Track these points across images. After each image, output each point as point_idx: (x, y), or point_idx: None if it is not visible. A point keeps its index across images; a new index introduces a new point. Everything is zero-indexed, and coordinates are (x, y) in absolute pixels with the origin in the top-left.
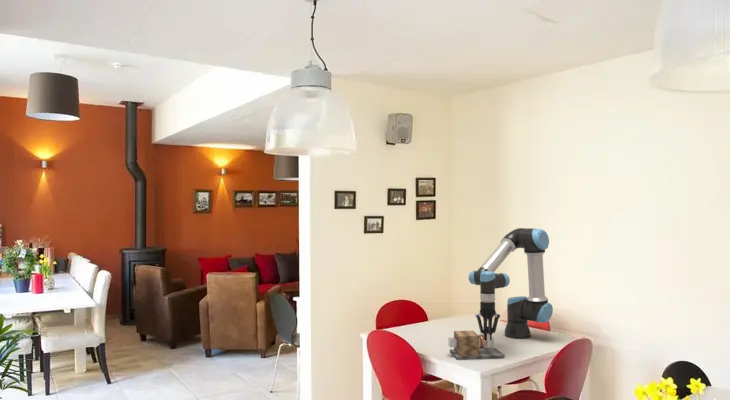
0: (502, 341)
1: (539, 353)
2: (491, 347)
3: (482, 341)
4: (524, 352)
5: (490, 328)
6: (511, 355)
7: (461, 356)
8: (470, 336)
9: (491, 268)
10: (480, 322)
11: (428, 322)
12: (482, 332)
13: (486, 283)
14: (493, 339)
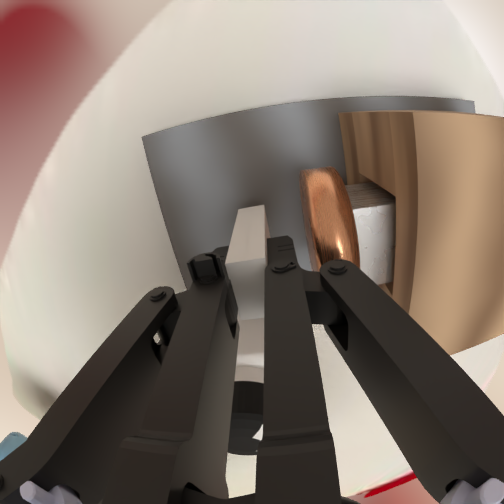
0: None
1: (13, 261)
2: None
3: (327, 174)
4: (59, 274)
5: (201, 322)
6: (108, 211)
7: (451, 104)
8: (498, 118)
9: None
10: (438, 381)
11: (361, 489)
12: (341, 261)
13: None
14: None
